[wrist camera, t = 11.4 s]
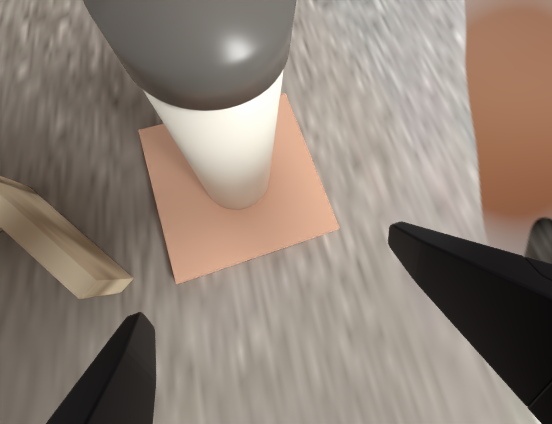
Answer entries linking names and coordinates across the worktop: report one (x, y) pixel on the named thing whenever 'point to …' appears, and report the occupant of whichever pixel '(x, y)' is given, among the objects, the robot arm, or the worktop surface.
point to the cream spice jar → (208, 80)
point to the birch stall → (58, 243)
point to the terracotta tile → (229, 222)
